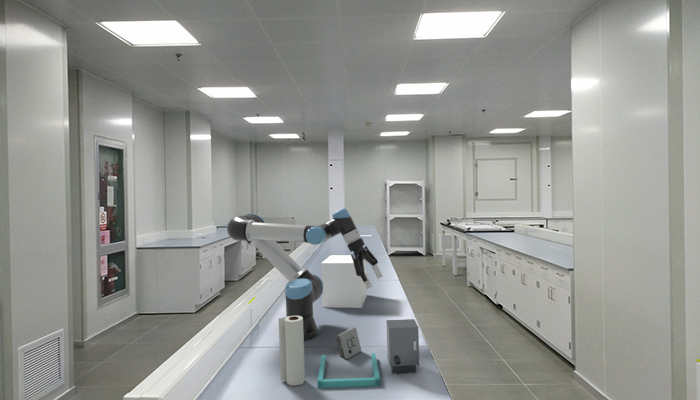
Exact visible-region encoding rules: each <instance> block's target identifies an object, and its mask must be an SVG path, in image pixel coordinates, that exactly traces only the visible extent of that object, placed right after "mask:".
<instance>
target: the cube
mask: <svg viewBox="0 0 700 400" xmlns="http://www.w3.org/2000/svg"><path fill="white" fill-rule="evenodd" d="M351 255H352V254H349V255H347V254H345V255H343V254H342V255H339V254H337V255H334V254H332V255H329V256H328V257H327V258H326V259H324V260H323V261H322V262H320V266H321V267H320V268H321V271H320V272H321V280H322V282H323V292H322V294H321V298H322V301H321V302H322V308H338V309H339V308H343V309H344V308H346V309H347V308H350V309H351V308H352V309H362V308H363V305H364V304H365V301H366V299H367V296H368V289H367V288H366V286H365V284H364V282H363V280H362V278H361V276H357V275H356V271H355V267H354V263H353V259H352V257H351ZM355 259H356V258H355ZM363 264H364V272H365V273H366V274H367V261H366V260H365V259H364V260H363Z"/></svg>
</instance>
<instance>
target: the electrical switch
mask: <svg viewBox="0 0 700 400" xmlns="http://www.w3.org/2000/svg"><path fill="white" fill-rule="evenodd" d="M357 331H358V330H357V328H356V327H352V328H349V329H347V330H345V331H343V332H341V333H339V334H338V335H335V341H336V344H337V348H338V352H339V353H338V354H339V355H340V356H339V357H341V358H342V357H344V359H345V360H347V359H350V358H351V357H353V356H355V355H356V354H359V353H360V352H362V347H361V343H360V339H359V335H358V332H357Z"/></svg>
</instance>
